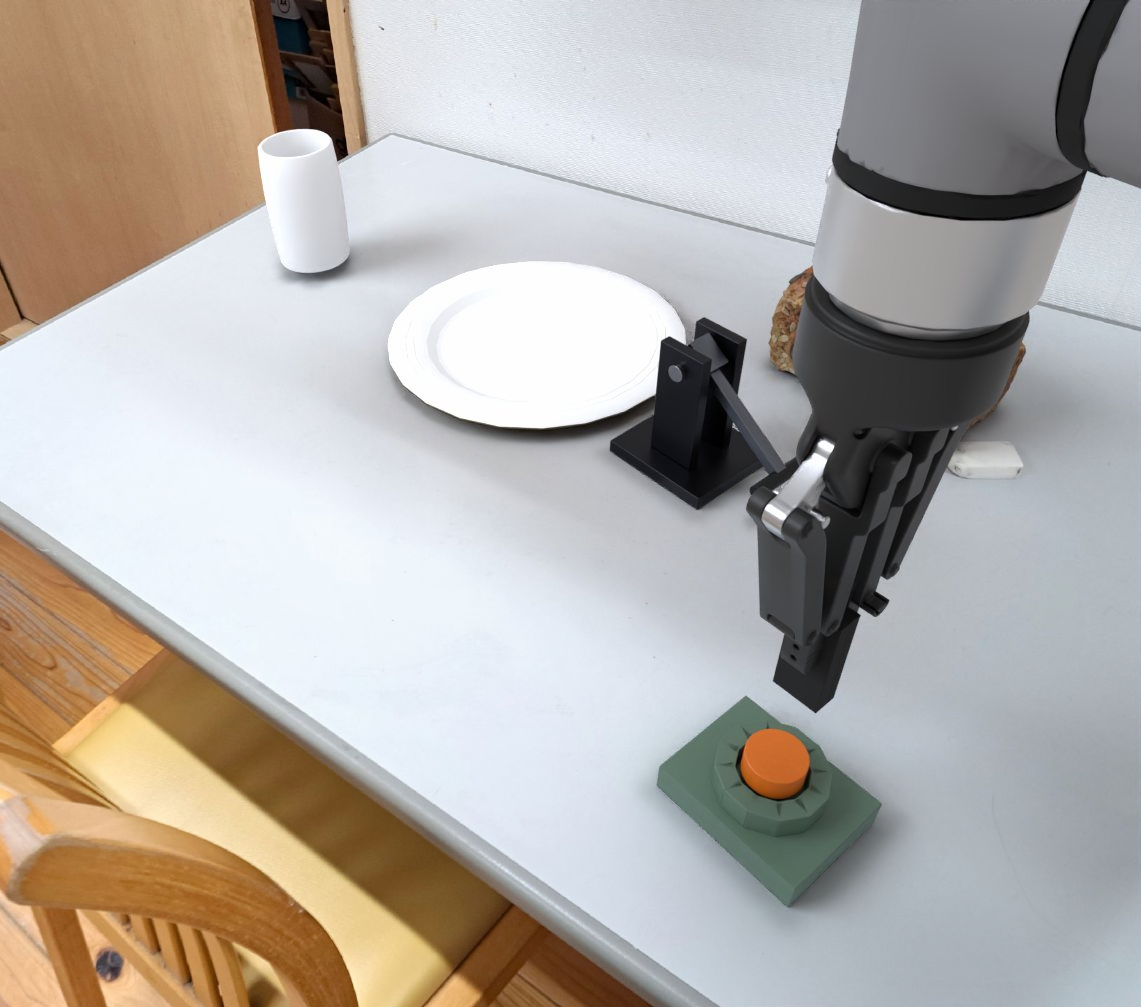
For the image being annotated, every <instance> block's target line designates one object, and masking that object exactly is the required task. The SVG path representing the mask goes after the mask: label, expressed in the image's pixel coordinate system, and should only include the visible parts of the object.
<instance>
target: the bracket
mask: <svg viewBox="0 0 1141 1007" xmlns="http://www.w3.org/2000/svg"><path fill="white" fill-rule="evenodd" d="M707 333H710V335H711V336H712V338H713V339H714V341H715V342H716V344H717V345H718V346H719V348H720V349H721V351H722V352H723V354H724V355H725V357H726V358H727V360H728V363H727V364H725V365H724V366H723V367H721V368H720V370H721V372H722V373H723V375H724V376H725V378H726V379H727V381H728V382H729V384H730V385H731V387H732V388H733V390H734V391H735V392H736V394H737V395H738V396H739V391H740V386H741V385H740V384H741V378H742V372H743V367H744V362H745V355H746V349H747V343H748V338H746V337H744V336H742V335H740V334H739V333H736V332H734V331H733V330H730V329H728V328H727V327H725V326H723V325H720V324H719V323H717V322H715V321H713V320H711V319H709V318H707V317H705V316H703V317H701V318H700V319H698V320H696V321H695V327H694V335H693V341H694V340H696V339H698V338H699V337H701V336H703V335H705V334H707ZM687 345H688V344H686V345H685V344H683V343H681V342H679V341H678V340H676V339H674V338H672V337H670V336H668V337H667V338H665V339H663V340H661V344H660V355H659V365H658V376H657V386H656V395H655V396H654V397H655V398H654V407H653V408H654V409H653V415H651V416H649V417H647V418H645V419H644V420H642V421H641V422H638V423H637V424H636V425H634V426H632V427H631V428H629V429H627V430H626V431H624V432H622V433H620V434H619V435H617V436H615V437H613V438H612V439H610V440H609V451H610V452H611V453H612V454H614V455H616V456H617V457H618V458H619V459H621V460H623V461H624V462H626V463H627V464H629V466H632V467H633V468H634V469H636V470H637V471H639V472H640V473H642V474H643V475H645V476H646V477H648V478H649V479H651V480H652V481H654V482H655V483H657V484H658V485H660V486H661V487H663V489H664V488H665V489H666V490H667V491H669V492H670V493H671V494H673V495H675V496H676V497H677V498H679V499H681V500H682V501H684V502H685V503H686V504H688V505H689V506H690V507H692V508H694V509H695V510H699V509H700V508H702V507H704V506H705V505H706V504H708V503H709V502H711V501H713V500H714V499H716V498H717V497H718V496H720V495H722V494H723V493H724V492H726V491H727V490H728V489H730V488H732V487H733V486H735V485H736V484H738V483H739V482H741V481H742V480H743V479H745V478H747V477H749V476H750V475H751V474H753V473H754V472H756V471H757V470H759V469H760V468H762V467H763V465H762V464H761V463H760V461H759V460H758V458H757V457H756V455H755V454H754V452H753V451H752V449H751V448H750V446H749V445H748V443H747V442H746V440H745V439H744V437H743V436H742V435H741V433H740V432H739V430H738V429H737V428H734V427H733V426H734V423H733V421H732V420H731V418H730V417H729V415H728V414H727V412H726V411H725V409H724V408H723V407H722V405H721V404H720V402H719V401H718V399H717V398H716V396H715V395H714V393H713V392H712V390H711V389H710V387H709V379H710V372H711V365H712V359H711V358H709V357H707V356H705V355H703V354H701V353H700V352H698V351H696V350H694V349H692V348H690V347H689V346H687Z"/></svg>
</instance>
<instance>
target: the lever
mask: <svg viewBox="0 0 1141 1007" xmlns="http://www.w3.org/2000/svg"><path fill="white" fill-rule="evenodd" d="M686 345H687V346H689V347H690V348H692V349H694V350H696V351H698V352H700V353H701V354H703V355H705V356H707V357H709V358H711V359H712V365H711V372H710V379H709V387H710V389H711V390H712V392H713V393H714V395H715V396H716V398H717V399H718V401H719V402H720V404H721V405H722V407H723V408H724V409H725V411H726V412H727V414H728V415H729V417H730V418H731V420H732V421H733V425H734V426H735V427H736V430H737V431H739V432H740V433H741V435H742V436H743V437H744V439H745V440H746V442H747V443H748V445H749V446H750V448H751V449H752V451H753V452H754V454H755V455H756V457H757V458H758V460H759V461H760V463H761V464H762V465H763V466H762V467H763V468H764V470H765V472H766V473H767V475H766V476H764V477H763V478H761V479H760V480H759V481H757V482H756V483H754V484H752V485H750V487H749V489H748V490H749V494H750V496H751V495H752V494H753V493H754V491H755V490H757V489H758V488H759V487H762V486H765V487H766V488H768V489H769V490H771V491H774V490H775V489H776V488H777V487H781V486H783V485H785V484H786V483H787V482H788V481H789V479H790V478H791V477H792V476H793V474H794V473H795V472H796V471H797V469H798V468H799V467H800V465H799V464H798V462H797V459H796V455H795V456H793V457H792V458H791V459H790V460H788V461H787V462H785V463H784V461H783V460H782V459H781V457H780V456H779V454H778V453H777V451H776V450H775V448H774V447H773V445H772V444H771V442H770V441H769V439H768V438H767V437H766V435H765V433H764V432H763V430H762V429H761V428H760V426H759V424H758V423H757V422H756V420H755V418H754V417H753V416H752V414H751V413H750V411H749V410H748V408H747V407H746V405H745V404H744V402H743V401H742V399H741V398H740V397H739V394H738V395H737V394H736V392H735V391H734V390H733V388H732V387H731V385H730V384H729V382H728V381H727V379H726V378H725V376H724V375H723V373H722V372H721V370H720V368H721V367H723V366H724V365H725V364H727V363H728V360H727V358H726V357H725V355H724V354H723V352H722V351H721V349H720V348H719V346H718V345H717V344H716V342H715V341H714V339H713V338H712V336H711V335H710V333H707V334H705V335H703V336H701V337H699V338H698V339H696V340H694V339H693V340H692V341H691V342H689V343H688V344H686Z"/></svg>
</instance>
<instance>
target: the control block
mask: <svg viewBox="0 0 1141 1007" xmlns="http://www.w3.org/2000/svg"><path fill="white" fill-rule="evenodd" d="M764 729H778V730H782V731H785V732H788V733H790V734H792V735H793V736H795V737H796V738H797V739H799V740H800V741H801V742H802V743H803V745H804V746H805V748H806V750H807V752H808V754H809V758H810V765H809V769H808V772H807V775H806V778H805V781H804V784H803V786H802V788H801V789H800V790H799V792H797V793H796V794H795V795H793V796H791V797H788V798H784V799H772V798H768V797H765V796H762V795H760V794H758V793H757V792H755V791H754V790H753V789H752V788H751V787H750V786H749V785H748V784H747V783H746V781H745V780H744V778H743V776H742V773H741V760H742V756H743V752H744V748H745V744H746V742H747V740H748V739H749V738H750V737H751V736H752V735H753V734H754V733H756V732H758V731H760V730H764ZM656 786H657V787H658V788H659V789H660V790H661V791H662V792H663V793H664V794H665V795H666V796H668V797H669V798H670V799H671V800H672V801H673V802H674V803H675V804H676V805H677V806H678V807H679V808H681V810H682V811H683V812H685V813H686V815H688V816H689V817H690V818H691V819H692V820H693V821H694V822H695V823H697V824H698V825H699V827H701V829H703V830H704V831H705V832H706V833H707V834H708V835H709V836H710V837H711V838H713V839H714V841H715V842H717V843H718V844H719V845H720V846H721V847H722V848H723V849H724V850H725V851H727V853H728V854H730V855H731V856H732V857H733V858H734V859H735V860H736V861H737V862H738V863H740V865H741V866H743V868H745V869H746V871H748V872H749V873H750V874H751V875H752V876H753V877H754V878H755V879H757V880H758V882H760V884H761V885H763V886H764V887H765V888H766V889H767V890H769V891H770V893H771V894H773V895H774V897H776V898H777V899H778V900H779V901H780V902H781V903H782V904H783V905H784V906H786V907H787V908H789V907H790V906H791V905H792V904H793V903H794V902H795V901H796V900H798V898H799V897H800V896H801V895H802V894H804V892H805V891H807V889H808V888H809V887H810V886H812V884H813V883H814V882H815V881H816V880H818V879H819V877H821V875H822V874H823V873H824V872H826V870H827V869H828V868H829V867H830V866H831V865H832V864H834V863H835V862H836V860H838V859H839V858H840V857H841V855H843V854H844V853H845V852H846V851H847V850H848V849H849V848H850V847H851V846H852V845H853V844H854V843H855V842H856V841H857V840H858V839H859V838H860V837H861V836H862V835H863V834H864V833H865V832H866V831H867V830H868V829H869V828H870V827H871V826H872V825H873V824H875V821H876V819H877V816H878V814H879V812H880V810H881V808H882V805H883V803H882V802H881V801H880V800H879V799H877V797H875V796H873V795H872V794H871V793H870V792H869V791H867V790H866V789H864V788H863V787H862V786H861V785H860V784H859V783H857V782H855V780H853V779H852V778H851V777H849V776H848V775H847V774H846V773H845V772H843V771H842V770H841V769H839V767H837V766H836V765H834V764H833V763H832V762H830V761H829V760H828V759H827V757H826V755H825V753H824V751H823V749H822V747H821V746H820V744H818V743H817V742H815V740H813V739H812V738H810V737H809V735H806V734H805V733H804V732H803V731H801V730H800V729H799V728H797V727H795V726H793V725H789V724H785V723H782V722H780V721H779V720H778V719H776V717H774V716H773V715H771V714H770V713H769V712H767V710H766V709H764V708H763V707H762V706H760V705H759V704H758V703H756V702H755V701H754V700H753V699H752V698H750V697H749V696H748V695H745V696H743V697H742V698H741V699H739V700H738V701H737V702H736V703H735V704H734V705H733V706H731V707H730V708H729V709H728V710H726V711H725V712H724V713H722V714H721V715H720V716H718V718H716V719H715V720H714V721H713V722H711V724H709V725H708V726H707V727H706V728H704V729H703V730H702V731H700V732H699V733H698V734H697V735H696V736H694V737H693V738H692V739H691V740H689V741H688V742H687V743H686V744H684V745H683V746H682V747H681V748H680V749H679V750H677V751H676V752H675V753H674V754H672V755H671V756H670V757H668V758H667V759H666V760H665V761H663V763H662V764H660V765H659V767H658V773H657V779H656Z"/></svg>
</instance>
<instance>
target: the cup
mask: <svg viewBox="0 0 1141 1007" xmlns="http://www.w3.org/2000/svg"><path fill="white" fill-rule="evenodd" d="M257 154H258V155H257V156H258V162H259V171H260V177H261V178H260V179H261V184H262V190H263V195H264V199H265V200H264V201H265V204H266V209H267V214H268V218H269V223H270V226H271V230H272V234H273V238H274V242H275V246H276V249H277V252H278V257H279V259H280V263H281V264H282V266H283V267H284V268H286V269H287V270H289V271H292V272H295V273H303V274H312V273H313V274H314V273H321V272H326V271H329V270H332V269H334V268H336V267H338V266H340V265H342V264H344V262H345V261H346V260H347V259H348V258H349V256H350V254H351V252H350V251H351V250H350V238H349V237H350V236H349V228H348V227H349V226H348V218H347V211H346V202H345V196H344V188H343V183H342V177H341V173H340V168H339V163H338V158H337V155H336V151H335V147H334V142H333V139H332V137H330V135H329V134H328V133H325V132H324V131H321V130H319V129H311V128H310V129H309V128H296V129H288V130H284V131H279V132H277V133H274V134H271V135H270V136H268V137H266V138H264V139H263V140H262V141H261V142H260V143H259V145H258V146H257Z"/></svg>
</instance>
